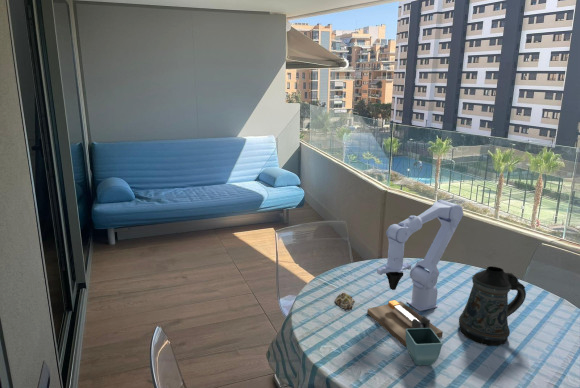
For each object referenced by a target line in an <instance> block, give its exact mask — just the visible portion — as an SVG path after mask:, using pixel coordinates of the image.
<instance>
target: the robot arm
mask: <svg viewBox="0 0 580 388" xmlns="http://www.w3.org/2000/svg"><path fill="white" fill-rule="evenodd" d="M463 217H464V210H463V207H462V205H460V204H456V203H452V202H450V201H447V200H444V199H438V200H437V201H434V202H433V204H432V206H431V207H429V208H428V209H426V210H424V211H423V212H422V213H420V214H419V215H417V216H416V215H409V216H408V218H406V219H404V220H402V221H400V222H398V223H393V224H391V225H389V226H388V228H387V230H386V231H385V234H386V236H387V239H388V240H387V241H388V250H387V260H386V265H383V266H381V267H379V268H377V269H376V270H377V271H376V274H378V275H379V276H382V275H383V274H384V275H386V278H387V281H388V285H389V286H388V287H389V289H390V290H392V291H396V290H397V287H398V284H399V282H400V281H401V279H402V278H403V277H404V271H406V270H408V271H409V270H410V271H409V278H410V279H411V282H412V291H411V292H412V294H411V299H409V300H406V303H407V304H408V305H410V306H412V307H413V308H414V309H415V310H417V311H419V312H422V311H427V310H430V309H434V308H438V305H437V302H438V301H437V300H438V294H439V293H438V287H437V286H436V285H437V284H438V278H439V275H440V271H439V269H438V267H437V266H438V264H439V262H440V260H441V258H442V257H443V255H444V253H445V251H446V249H447V246H448V245H449V243H450V241H451V239H452V237H453V235H454V234H455V231H456V229H457V228H458V225H459V223H460V222H461V220H462V218H463ZM436 218H437V220H438V221H439V223H440V228H439V229H438V231H437V233H436V235H435V237H434V238H433V241H432V243H431V244H430V247H429V248H428V250H427V253H426V254H425V256H424V258H423V259H422V260H419V261H416V263H415V264H414V266H412V264H410V263H409V262H406V263H405V262H404V253H405V245H406V244H405V243H406V242H407V241H408V240H409V239H410V238H409V237H411V235H412V234H414V233H416V232H417V231H420V230H421V229H422V228H423V224H427V223H428V222H430V221H432V220H435V219H436Z"/></svg>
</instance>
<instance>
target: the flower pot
mask: <svg viewBox="0 0 580 388" xmlns="http://www.w3.org/2000/svg"><path fill="white" fill-rule="evenodd" d="M405 332H406V345H407V347H406V348H407V351H408V353H409V355H410V357H411V359H412V360H413V363H415V365H416V366H431V365H433V364H434V363H436V362H437V361H438V359H439V357H440V354H441V350H442V348H443V341H442V340H441V339H440V338H438V337H437V335H436V334H435V333H434V331H433V330H432V329H431V328H413V329H405Z"/></svg>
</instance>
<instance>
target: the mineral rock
mask: <svg viewBox="0 0 580 388" xmlns="http://www.w3.org/2000/svg"><path fill="white" fill-rule="evenodd" d="M334 302H335V303H336V305H337V306H339V307H340V308H342V309H345V310H348V311H351V310H352V309H353V308H354V304H355V299H353V297H352V296H351V295H350V294H347V292H341V293H339V294H338V295H337V296H336V298H335V299H334Z"/></svg>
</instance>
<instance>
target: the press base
mask: <svg viewBox="0 0 580 388" xmlns="http://www.w3.org/2000/svg"><path fill="white" fill-rule="evenodd" d="M397 302H398V303H399V304H400V306H401V307H402V308H404V309H405V310H406V311H408V312H409V313H410V314H411V315H413V316H414V317H415V318H416V319H418V320H419V321H420V322H421V323H424V325H425V328H431V329H432V330H433V331H434V333H435V334H436V335H437V337H438V338H439V339H440V338H442V337H443V334H444V332H443V331H442V330H441V329H439V328H438V327H437V326H436V325H434V324H433V323H431V321H430V319H428V318H427V317H425V316H422V315H420V314H419V313H417V312H416V311H415V310H413V308H411V307H410V306H408V305H407V304H405V303H404V302H403V301H401V300H400V301H397ZM366 310H367V311H366V312H367V313H366V314H367V315H369V316H370V317H371V318H372V319H373V320H374V321H375V322H376V323H378V324H379V325H380V326H381V327H382V328H383V329H384V330H385V331H387V332H388V333H389V334H390V335H391V336H392V337H393V338H395V339H396V340H397V341H398V342H399V343H400V344H402V345H403V346H404V347H405V348H407V345H406V332H405V329H413V328H420V326H421V323H420V322H419V321H417V320H416V319H413V320H412V324H411V323H410V322H409V321H408V320H407V319H405V318H404V317H403V316H402V315H401V314H399V313H398V312H397V311H396V310H394V309H391V308H390V307H389V306H388V304H382V305H379V306H374V307H370V308H369V307H368V308H367V309H366Z"/></svg>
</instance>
